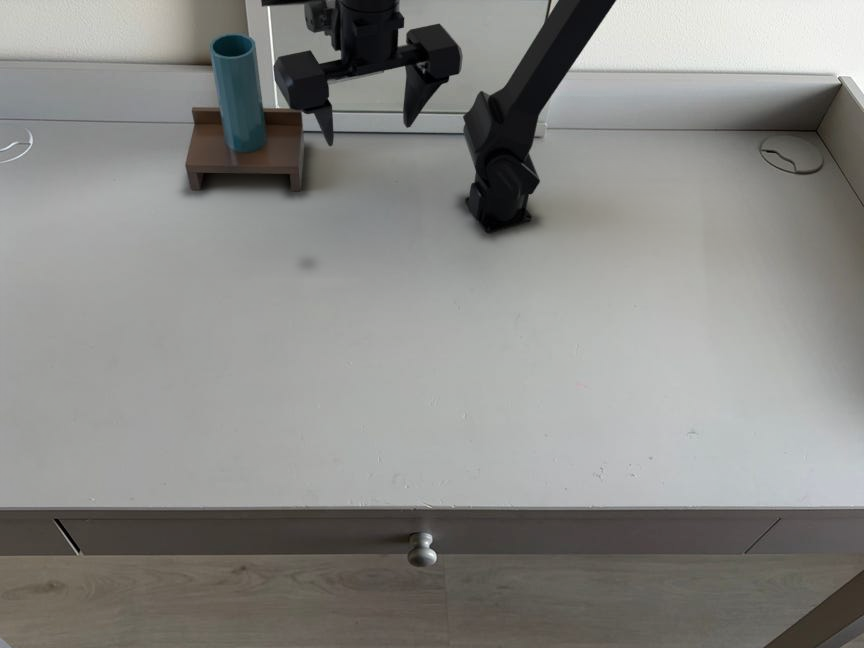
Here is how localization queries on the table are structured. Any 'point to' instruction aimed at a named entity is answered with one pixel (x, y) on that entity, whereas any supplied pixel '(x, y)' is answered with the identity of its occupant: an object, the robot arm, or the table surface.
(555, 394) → the table surface
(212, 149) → the shelf
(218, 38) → the teal cylindrical vase
